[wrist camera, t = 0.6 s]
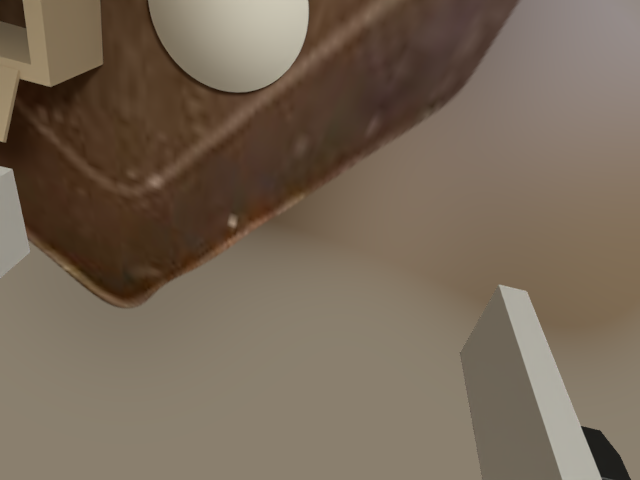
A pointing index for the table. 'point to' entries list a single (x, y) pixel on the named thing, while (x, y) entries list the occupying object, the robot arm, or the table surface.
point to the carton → (48, 48)
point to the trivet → (232, 39)
